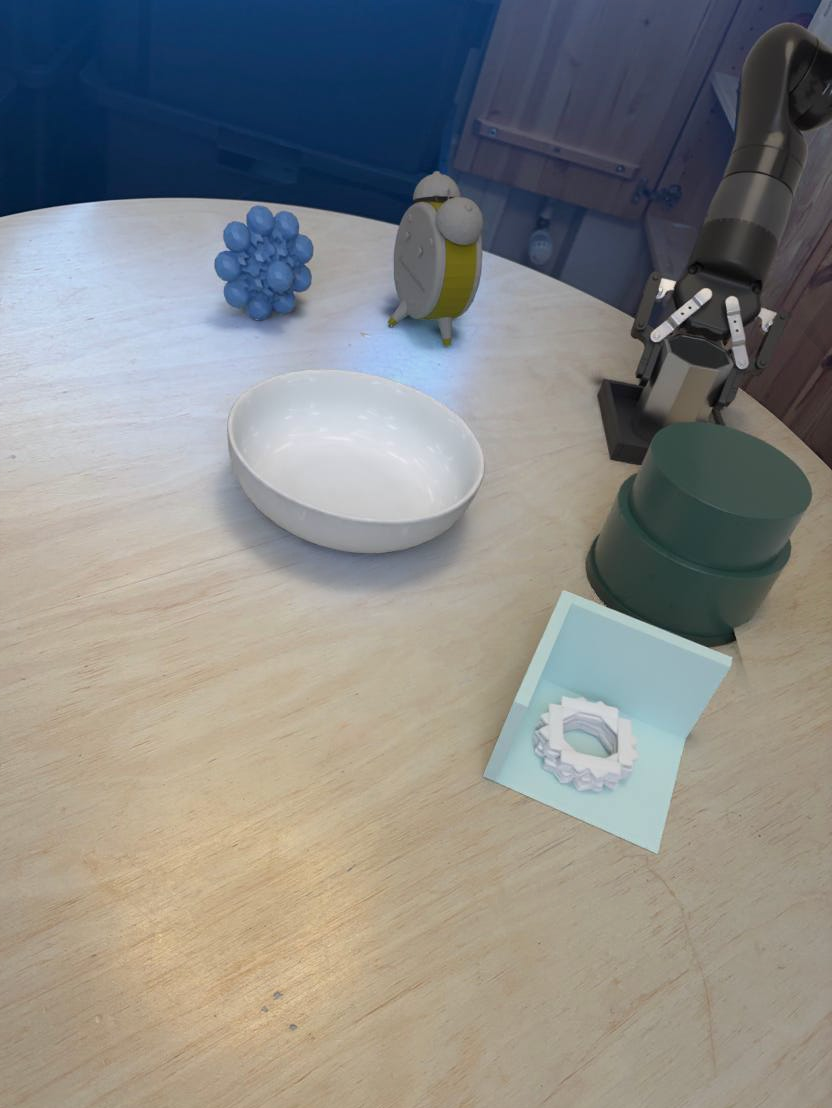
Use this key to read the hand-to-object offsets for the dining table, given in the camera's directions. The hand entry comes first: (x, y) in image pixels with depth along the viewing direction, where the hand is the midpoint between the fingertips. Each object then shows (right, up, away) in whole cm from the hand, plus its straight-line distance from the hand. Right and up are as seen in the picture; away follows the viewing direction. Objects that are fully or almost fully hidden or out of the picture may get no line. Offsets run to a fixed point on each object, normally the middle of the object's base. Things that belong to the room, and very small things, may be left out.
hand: (680, 395), depth 95 cm
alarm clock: (-25, +11, +14) cm, 30 cm away
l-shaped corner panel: (-16, -32, -27) cm, 44 cm away
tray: (0, -3, +5) cm, 6 cm away
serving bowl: (-32, -12, -12) cm, 37 cm away
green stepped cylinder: (-5, -19, -13) cm, 23 cm away
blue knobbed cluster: (-41, +9, +8) cm, 43 cm away
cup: (0, -3, +5) cm, 5 cm away
